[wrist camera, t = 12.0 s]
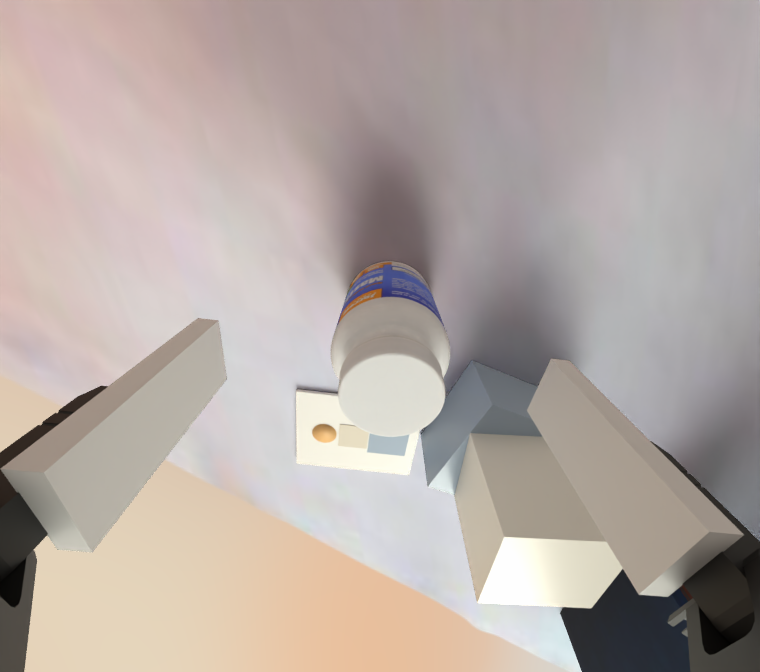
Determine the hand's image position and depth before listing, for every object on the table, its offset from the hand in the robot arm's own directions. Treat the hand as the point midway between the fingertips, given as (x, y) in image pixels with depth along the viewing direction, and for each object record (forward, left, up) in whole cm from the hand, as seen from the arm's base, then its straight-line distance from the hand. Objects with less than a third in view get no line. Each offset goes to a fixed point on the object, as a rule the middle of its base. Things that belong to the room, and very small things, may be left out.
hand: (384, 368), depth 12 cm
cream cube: (-9, +9, -3) cm, 13 cm away
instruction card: (+1, +12, -8) cm, 15 cm away
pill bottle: (0, 0, -8) cm, 8 cm away
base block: (-9, +9, -8) cm, 15 cm away
